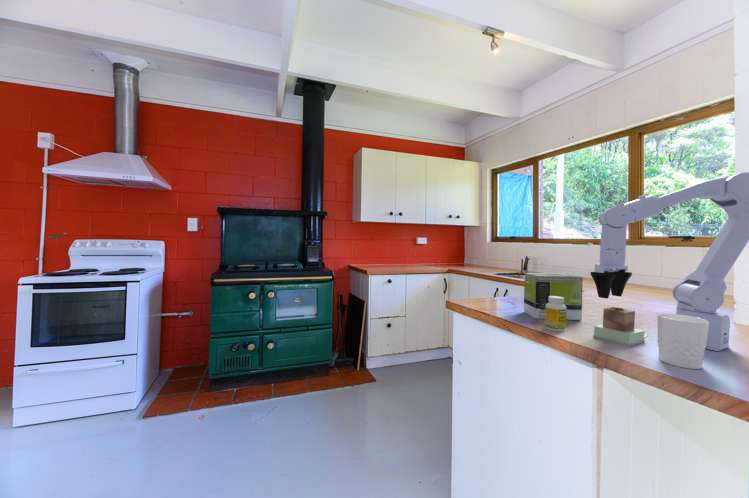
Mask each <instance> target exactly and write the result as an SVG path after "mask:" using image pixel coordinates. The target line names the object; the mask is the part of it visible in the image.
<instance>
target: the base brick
mask: <svg viewBox="0 0 749 498" xmlns="http://www.w3.org/2000/svg"><path fill="white" fill-rule="evenodd" d="M644 334H645V330H643V329H640V328H639V329H638V328H635V327H634V330H631V331H627V332H623V331H618V330H614V329H610V328H606V327H603V323H602V324H597V325H594V328H593V335H592V336H593V338H597V339H601V340H605V341H608V342H612V343H616V344H619V345H623V346H625V347H626V346H627V347H632V346H635V345H639V344H641V343H645V341H646V340H645V338H644Z"/></svg>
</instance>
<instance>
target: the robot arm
mask: <svg viewBox="0 0 749 498" xmlns="http://www.w3.org/2000/svg"><path fill="white" fill-rule="evenodd" d="M694 199H699V200H700V199H701V200H708V199H709V200H710V201H711V202H712V203H714V204H715V205H717V206H718V207H720V208H721V209H723V211H724V212H725V213H726V215H727V216H728V218H727V219H726V221H725V223H724V224H723V226H722V227H721V229H720V230H719V232H718V233H717V235H716V237H714V240H713V242H712V244H711V245H710V247H709V248H708V249H707V251H706V253H705V254H704V256H703V258H702V259H701V260H700V263H699V264H698V266H697V267H696V269H695V271H693V272H691V273H689V274H688V275H687V276H685V278H684V279H683V280H682V281H681V282H680V283H678V284H676V285H675V286H674V287H673V289H672V297H673V299H674V300H675V301H676V302H677V304H676V309H675V310H676V311H675V314H678V315H686V316H692V317H697V318H701V319H704V320H707V321H709V326H708V333H707V341H706V347H705V350H711V351H716V352H720V351H723V350H725V349H727V348H730V344H729V342H730V341H729V340H730V327H731V320H730V316H729V315H728V314H724V313H720V312H717V310H719V308H721V307H722V306H723V304H724V295H725V292H726V290H727V288H728V287H727V285H726V282H725V278H726V277H727V275H728V273H729V272H730V270H731V268H732V267H733V265H735V263H736V261H737V260H738V258H739V257H740V255H741V253H742V252H743V250H744V249H745V247H746V245H747V244H748V242H749V171H745V172H740V173H737V174H734V175H732V176H730V175H728V176H727V175H726V176H724V177H719V178H714V179H709V180H705V181H702V182H698V183H694V184H693V185H690V186H687V187H684V188H682V189H679V190H675V191H672V192H669V193H668V194H664V195H662V196H659V197H658V196H655V195H652V194H651V195H645V194H643V195H640V196H638V197H637V199H635V200H634V199H633V200H632V201H628V202H626V203H624V202H621V203H618V204H617V205H615V206H613V207H611V208H607V209H606V210H604V211H603V212H601V214H600V217H599V218H598V222H599V224H600V225H601V234H600V247H599V251H600V252H599V263H594V271H590V276H591V278H592V280H593V282H594V284H595V286H596V287H595V288H596V291H597V296H598V298H600V299H601V298H602V299H607V300H608V299H609V297H610V294H611V296H615V297H622V295H623V293H624V291H625V288H626V285H627V283H628V281H629V279H631V277H632V276H633V272H629V271H628V268H629V264H626V251H627V248H626V247H627V226H628V225H629V224H630V223H631V224H633V223H636V222H639V221H643V220H646V219H648V218H651V217H654V216H659V215H660V214H661V213H662V211H663V209H664V208H668V207H670V206H673V205H677V204H678V205H679V204H680V203H683V202H687V201H691V200H694Z"/></svg>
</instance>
